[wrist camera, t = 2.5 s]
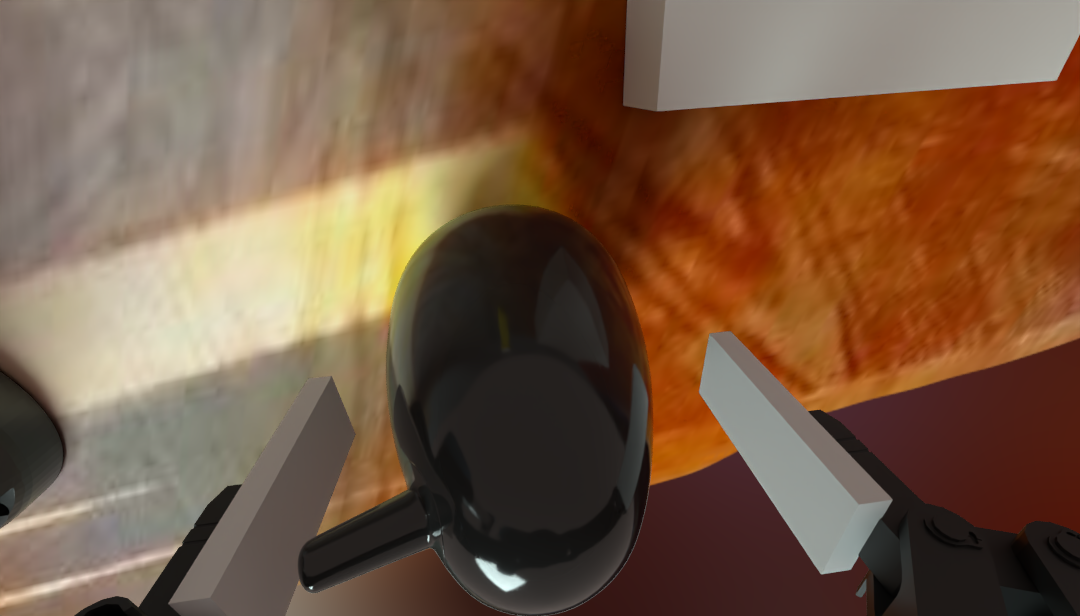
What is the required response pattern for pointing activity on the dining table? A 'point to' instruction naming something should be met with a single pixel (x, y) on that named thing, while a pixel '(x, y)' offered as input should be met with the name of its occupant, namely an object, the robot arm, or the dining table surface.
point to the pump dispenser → (509, 417)
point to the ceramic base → (836, 48)
